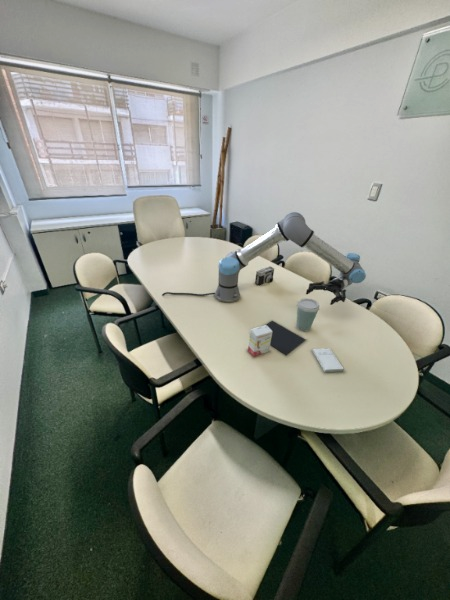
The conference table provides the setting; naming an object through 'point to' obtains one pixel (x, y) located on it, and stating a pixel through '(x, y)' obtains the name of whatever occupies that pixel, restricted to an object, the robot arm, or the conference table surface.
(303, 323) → the disposable coffee cup
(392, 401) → the conference table surface
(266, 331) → the ink box
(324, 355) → the hard drive
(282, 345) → the mat
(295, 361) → the conference table surface
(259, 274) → the camera
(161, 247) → the conference table surface
